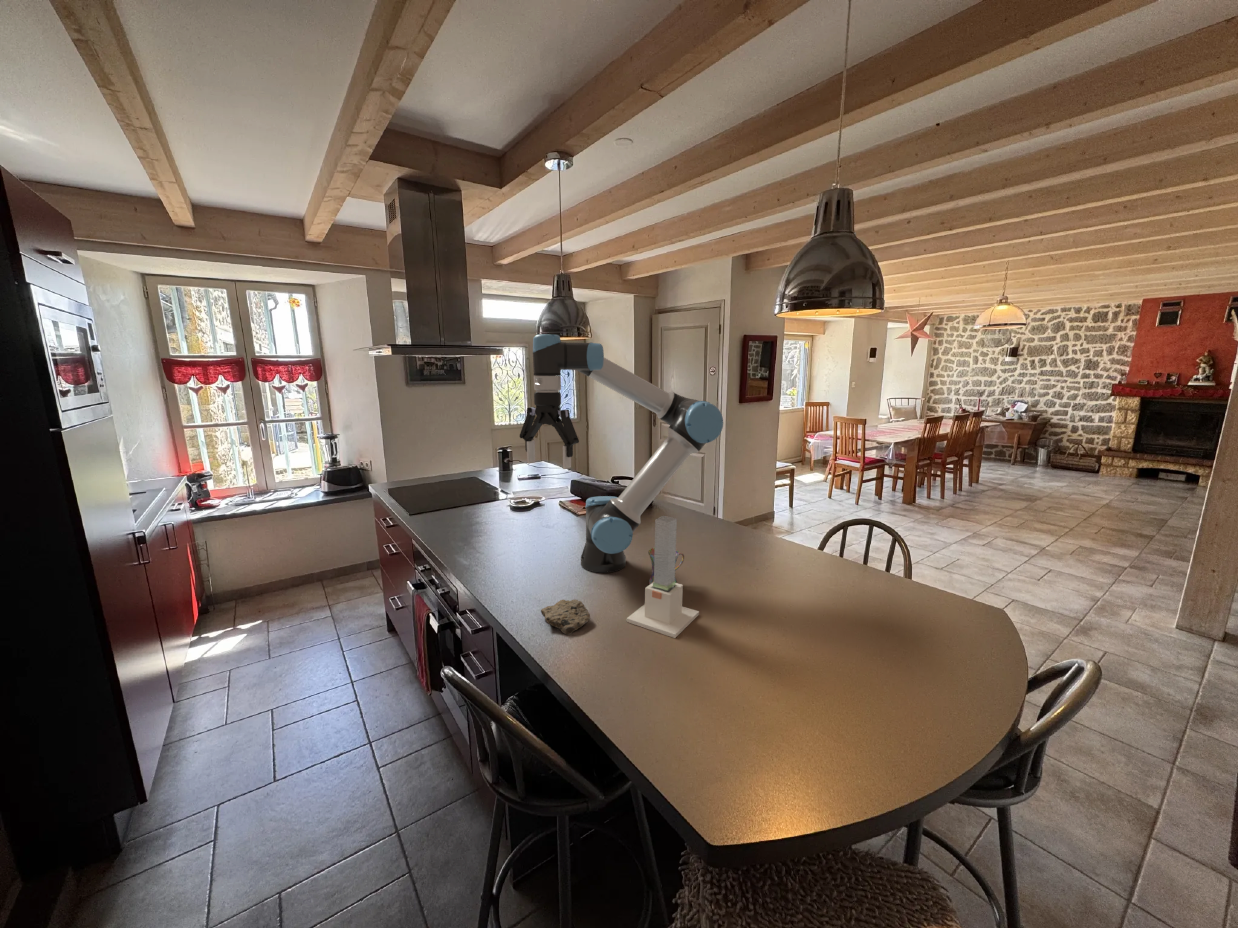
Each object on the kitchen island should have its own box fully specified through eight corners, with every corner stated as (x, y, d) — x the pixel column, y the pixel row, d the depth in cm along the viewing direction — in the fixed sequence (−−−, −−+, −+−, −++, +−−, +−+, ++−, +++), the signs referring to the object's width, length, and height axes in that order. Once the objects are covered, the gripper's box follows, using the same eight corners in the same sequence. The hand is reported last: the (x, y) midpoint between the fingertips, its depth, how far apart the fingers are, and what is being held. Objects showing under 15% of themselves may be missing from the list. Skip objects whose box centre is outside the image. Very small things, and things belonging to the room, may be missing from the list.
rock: (552, 639, 119) (552, 622, 119) (538, 617, 130) (538, 601, 129) (594, 628, 124) (594, 612, 123) (578, 608, 134) (578, 593, 134)
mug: (657, 594, 143) (658, 559, 141) (642, 582, 151) (642, 549, 149) (691, 586, 148) (693, 553, 146) (674, 575, 157) (675, 543, 154)
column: (660, 587, 131) (662, 515, 127) (675, 591, 129) (677, 518, 125) (652, 593, 127) (654, 519, 124) (667, 597, 125) (669, 522, 121)
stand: (653, 600, 139) (653, 571, 137) (698, 614, 131) (700, 583, 130) (626, 621, 127) (627, 589, 126) (674, 638, 120) (676, 603, 118)
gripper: (505, 390, 141) (508, 462, 145) (574, 393, 128) (574, 473, 132) (524, 389, 148) (526, 458, 152) (591, 392, 134) (591, 468, 138)
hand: (548, 465), depth 142 cm, fingers open, 13 cm apart
